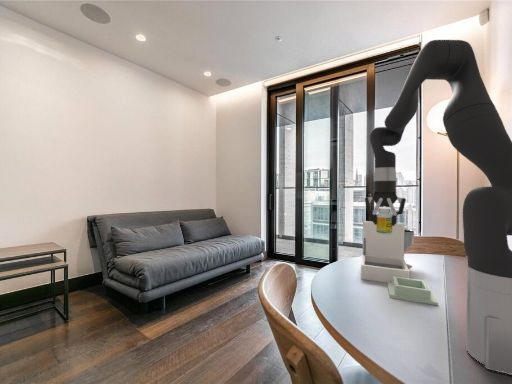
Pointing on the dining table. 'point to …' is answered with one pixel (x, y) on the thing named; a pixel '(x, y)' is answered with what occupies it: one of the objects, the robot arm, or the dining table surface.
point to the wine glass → (408, 241)
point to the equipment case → (383, 254)
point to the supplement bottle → (384, 222)
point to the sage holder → (411, 290)
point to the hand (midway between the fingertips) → (384, 224)
